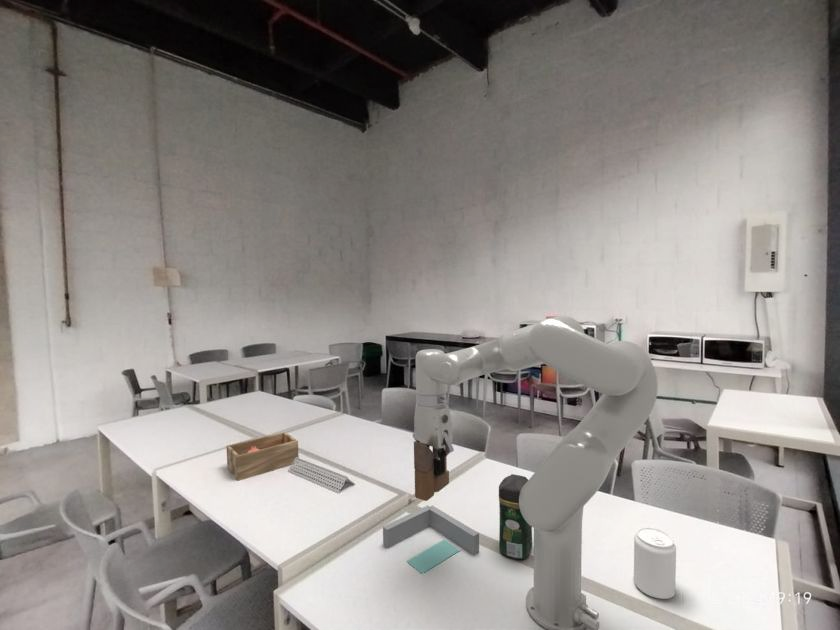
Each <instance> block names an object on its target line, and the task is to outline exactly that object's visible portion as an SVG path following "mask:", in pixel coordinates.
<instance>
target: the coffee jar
mask: <svg viewBox="0 0 840 630" xmlns="http://www.w3.org/2000/svg"><path fill="white" fill-rule="evenodd" d="M528 480H529V479H528V478H527V477H526V476H523V475H518V474H513V473H511V474H510V475H507V476H506V477H504V478H503V479H502V481H501V482H500V484H499V485H498V502H499V506H498V507H499V533H498V534H499V535H498V536H499V537H498V538H499V540H498V543H499V544H498V547H499V551H500V553H501V554H503V555H505V556H506V557H507V558H510V559H514V560H525V559H526V558H527V557H528V556H529V554H530V553H531V550H532V547H533V527H531V526H530V525H529V524H528V523H527V522H526V520H525V519H524V517H523V516H522V513H521V511H520V507H519V496H520V492H521V490H522V488H523V486H524V485H525V484H526V483H527V481H528Z"/></svg>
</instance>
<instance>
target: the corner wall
mask: <svg viewBox="0 0 840 630" xmlns="http://www.w3.org/2000/svg"><path fill="white" fill-rule="evenodd" d="M429 527H431V528H432V529H434V530H435V531H437V532H438V533H440V534H441V535H442V536H445V538H447V539H449V540H450V541H451V542H454V543H455V544H457V545H458V546H459V547H460V548H463V549H464V550H466V551H467V552H469V553H470V554H471V555H473V556H475V555H476V554H478V553H479V552H480V533H479V532H478V531H477V530H475V529H473V528H471V527H470V526H468V525H466V524H464V523H463V522H461V521H460V520H458V519H456V518H454V517H453V516H451V515H450V514H447V513H446V512H444V511H442V510H441V509H440V508H438V507H436V506H434V505H431V506H429V505H425V506H423V507H421V508H419V509H416V510H415V511H413V512H410V513H409V514H407V515H404V516H403V517H400V518H398V519H395V520H394V521H391V522H389V523H387V524H386V525H384V526H382V540H383V541H382V542H383V543H382V545H383V546H384V547H385V548H387V549H390V548H391V547H393V546H394V545H396V544H398V543H400V542H402V541H404V540H406V539H408V538H410V537H411V536H413V535H415V534H418V533H420V532H421V531H423V530H425V529H427V528H429Z"/></svg>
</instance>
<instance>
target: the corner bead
mask: <svg viewBox="0 0 840 630" xmlns="http://www.w3.org/2000/svg"><path fill="white" fill-rule="evenodd" d="M295 462H296V463H295ZM293 463H294V464H293ZM293 463H292V465H290V467H289V469H288V470H287V473H289V474H291V475H294V476H296V477H299V478H301V479H303V480H305V481H307V482H310V483H312V484H314V485H317V486H320V487H322V488H324V489H326V490H328V491H332V492H334V493H336V494H340V492H341V491H342V489H343V487H344V485H345V483H347V482H348V483H350V484H352V485H356V483H355V482H353V480H351V479H349V478H348V476H347V475H344V474H342V473H339V472H337V471H334V470H331V469H329V468H326V467H323V466H322V465H321V466H320V465H318V464H316V463H313V462H310V461H307V460H305V459H302V458H300V457H299V458H297V457H295V461H294V462H293Z"/></svg>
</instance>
